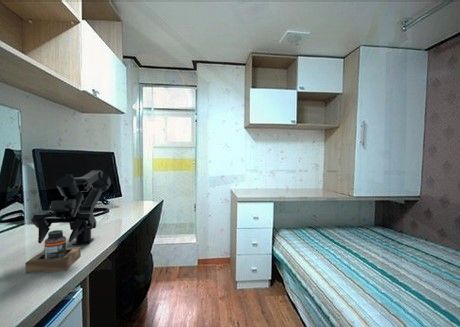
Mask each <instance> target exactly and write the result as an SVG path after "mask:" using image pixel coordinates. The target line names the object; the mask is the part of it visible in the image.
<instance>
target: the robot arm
mask: <svg viewBox="0 0 460 327" xmlns="http://www.w3.org/2000/svg"><path fill="white" fill-rule="evenodd" d="M111 184H112V181H111V178H110V176H109V175H107V174H105V173H104V172H103V171H102V170H101V169H100V170H96V169H95V170H93V169H92V170H90V171H89V172H88V173H85V174H84V175H82V176H79V177H77V176H76V177H74V176H73V174H70V173H69V174H65V176H62V177H60V178H58V179H57V180H56V181H55V186H56V187H57V189H58V191H59V193H60V194H61V196H63V197H64V199H63V200H51V203H50V207H49V211H52V212H53V213H52V214H53V215H54V216H51V217H50V216H49V215H48V213H35V214H33V215H32V217H31V219H30V221H31V222H32V224H34V226H35V227H36V228H37V229H38V238H37V242H38V244H42V242H43V241H45V238H46V236H48V233H49V232H50V230H51V228H50V227H51V226H52V225H53V224H59V223H60V224H69V228H70V230H71V233H70V235H69V238H68V242H69V243H71V242H73V241H74V239H75V241H74V242H73V243H72V246H74V245H75V246H80V245H90V244H91V243H92V242H93V241H94V240H95V238H94V237H92V230H93V229H96V228H97V220H96V217H95V216H94V209H95V207H96V205H97V203H98V202H99V199H100V198H101V195H102V193H104V192H106V191H107V190H109V188H110V186H111ZM87 192H89V193H88V195H87V196H86V198H85V199H84V193H87ZM82 202H83V204H82Z"/></svg>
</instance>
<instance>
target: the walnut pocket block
mask: <svg viewBox="0 0 460 327" xmlns="http://www.w3.org/2000/svg"><path fill="white" fill-rule="evenodd" d="M81 249H82V248H81V246H76V247H66V255H65V256H64V257H63V258H51V259H44V258H45V254H44V253H45V252H44V250H42V251H40V252H38V254H36V255H35V256H33V257H31V258H30V259H29V260H27V261H26V262H25V267H24V268H25V271H24V273H25V275H27V274H40V273H51V272H52V273H53V272H61V271H62V272H66V271H68V270H69V269H70V268H71V267H72V266H73V265H74V264H75V263H76V262H77V261H78V260H79V259H80V258H81V257H82V256H81V254H82V253H81V252H82V251H81Z"/></svg>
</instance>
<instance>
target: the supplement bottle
mask: <svg viewBox="0 0 460 327" xmlns="http://www.w3.org/2000/svg"><path fill="white" fill-rule="evenodd" d="M63 233H64V232H63V230H62V229H60V230H59V229H56V230H51V231H48V233H47V238H46V239H44V249H43V251H44V252H45V253H44V254H45V258H44V259H51V258H63V257H64V256H65V255H66V248H67V238H66V236H64V234H63Z"/></svg>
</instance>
